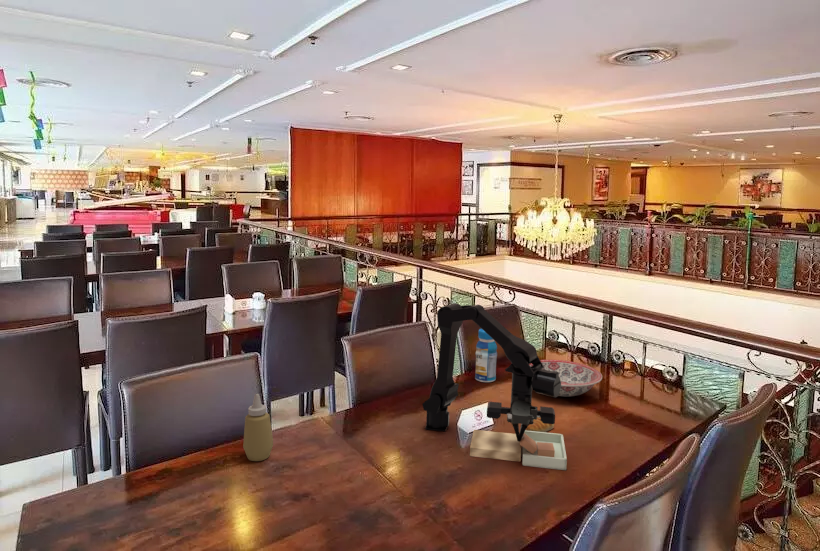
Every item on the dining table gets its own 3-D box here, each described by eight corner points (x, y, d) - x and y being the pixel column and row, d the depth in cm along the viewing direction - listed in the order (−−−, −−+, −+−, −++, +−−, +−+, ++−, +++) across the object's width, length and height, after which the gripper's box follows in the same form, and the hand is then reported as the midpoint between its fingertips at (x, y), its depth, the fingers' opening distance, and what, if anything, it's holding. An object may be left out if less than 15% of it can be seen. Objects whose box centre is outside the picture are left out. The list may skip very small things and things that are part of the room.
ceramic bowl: (609, 388, 209) (610, 368, 208) (588, 413, 185) (590, 391, 184) (535, 373, 225) (536, 355, 223) (507, 395, 200) (508, 374, 199)
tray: (522, 465, 149) (522, 455, 149) (522, 439, 165) (523, 430, 164) (566, 470, 147) (566, 459, 147) (562, 443, 163) (562, 434, 162)
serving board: (469, 456, 154) (470, 447, 154) (473, 437, 166) (473, 429, 165) (520, 461, 151) (521, 453, 151) (520, 442, 163) (521, 434, 163)
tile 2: (554, 450, 153) (554, 457, 153) (552, 443, 157) (552, 449, 158) (538, 449, 154) (537, 456, 154) (536, 442, 158) (536, 448, 158)
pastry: (538, 437, 167) (539, 425, 166) (520, 430, 172) (520, 419, 171) (555, 428, 173) (556, 417, 173) (537, 422, 178) (537, 411, 178)
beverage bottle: (497, 383, 213) (499, 333, 210) (475, 382, 213) (477, 332, 210) (494, 375, 221) (496, 327, 218) (473, 375, 221) (475, 327, 218)
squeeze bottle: (279, 452, 154) (278, 391, 151) (262, 466, 147) (260, 401, 144) (254, 447, 157) (253, 387, 154) (237, 460, 149) (235, 397, 146)
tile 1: (520, 444, 155) (524, 439, 155) (519, 437, 159) (523, 432, 159) (532, 454, 155) (537, 449, 154) (531, 447, 159) (535, 442, 159)
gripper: (486, 396, 148) (484, 450, 151) (557, 402, 145) (554, 458, 147) (489, 382, 159) (486, 432, 162) (555, 388, 156) (552, 439, 158)
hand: (519, 440), depth 157 cm, fingers closed
